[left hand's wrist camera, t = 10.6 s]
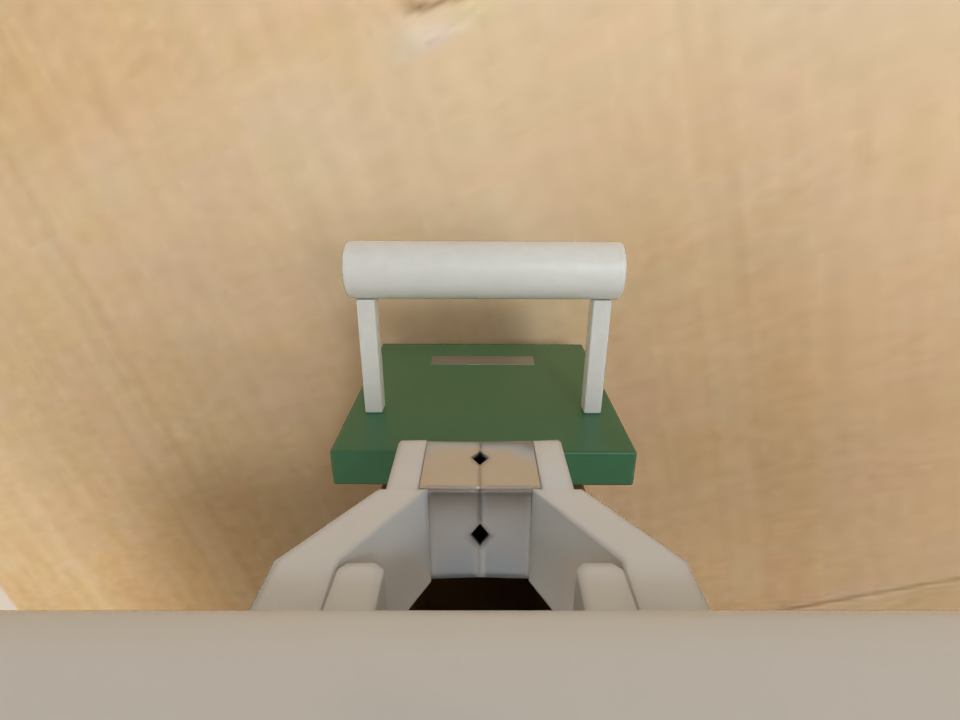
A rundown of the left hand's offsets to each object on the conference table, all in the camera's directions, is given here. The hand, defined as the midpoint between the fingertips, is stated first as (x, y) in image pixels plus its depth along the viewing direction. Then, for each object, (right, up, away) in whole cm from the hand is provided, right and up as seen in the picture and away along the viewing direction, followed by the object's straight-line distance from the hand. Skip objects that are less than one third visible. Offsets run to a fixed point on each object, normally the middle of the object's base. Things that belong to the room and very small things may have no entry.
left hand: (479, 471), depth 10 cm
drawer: (0, -3, +17) cm, 17 cm away
